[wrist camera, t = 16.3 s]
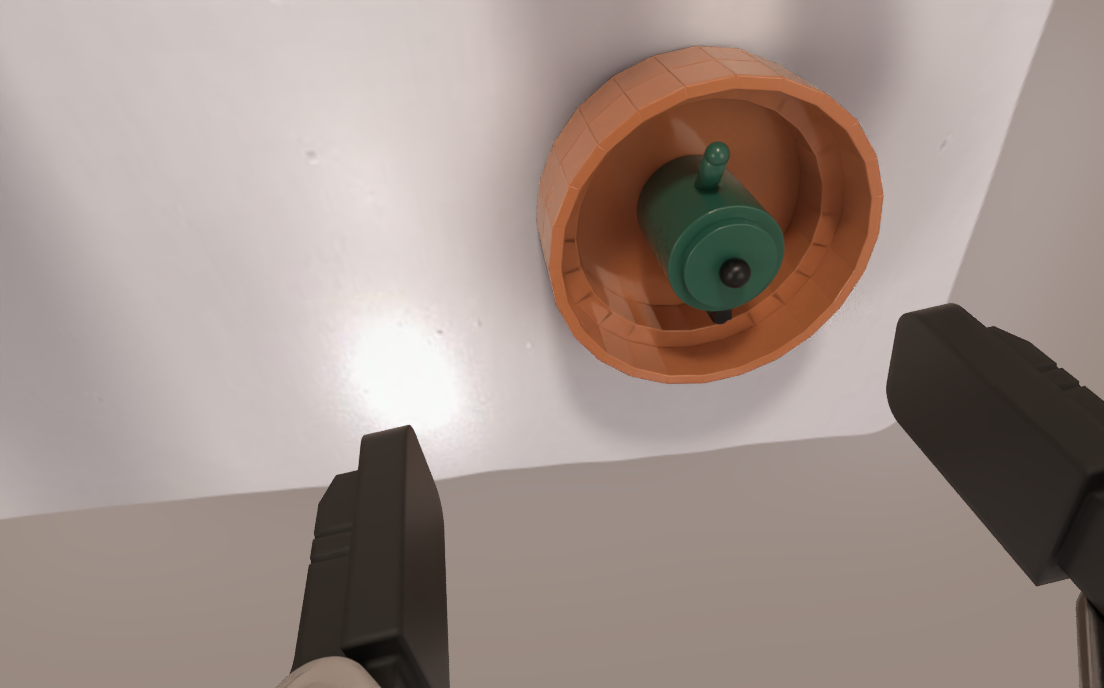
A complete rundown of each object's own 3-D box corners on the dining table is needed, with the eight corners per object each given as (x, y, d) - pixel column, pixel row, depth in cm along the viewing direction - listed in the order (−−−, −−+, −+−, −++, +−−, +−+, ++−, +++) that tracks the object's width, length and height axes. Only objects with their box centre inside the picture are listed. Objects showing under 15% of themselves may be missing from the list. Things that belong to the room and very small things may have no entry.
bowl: (562, 348, 42) (578, 411, 38) (507, 84, 33) (517, 123, 28) (817, 291, 42) (865, 347, 38) (835, 11, 33) (903, 37, 28)
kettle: (738, 264, 40) (798, 346, 33) (644, 285, 40) (685, 371, 33) (734, 92, 34) (806, 149, 27) (625, 116, 34) (669, 180, 27)
